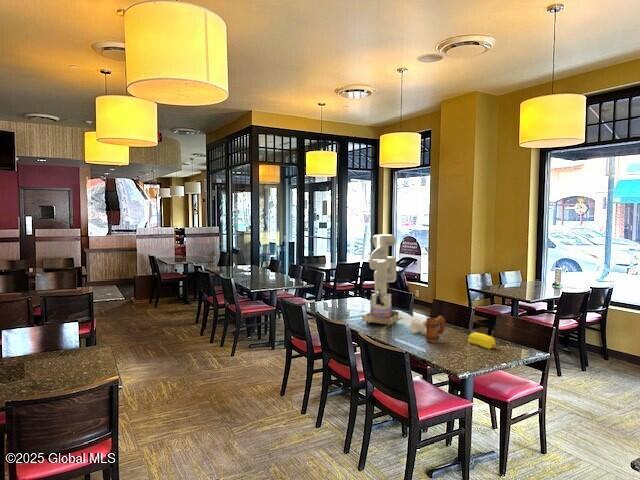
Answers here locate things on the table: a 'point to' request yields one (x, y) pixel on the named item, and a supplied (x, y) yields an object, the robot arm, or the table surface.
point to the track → (386, 325)
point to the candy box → (381, 306)
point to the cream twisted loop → (418, 326)
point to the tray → (385, 321)
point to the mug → (434, 328)
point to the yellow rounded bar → (482, 340)
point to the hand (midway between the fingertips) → (381, 302)
